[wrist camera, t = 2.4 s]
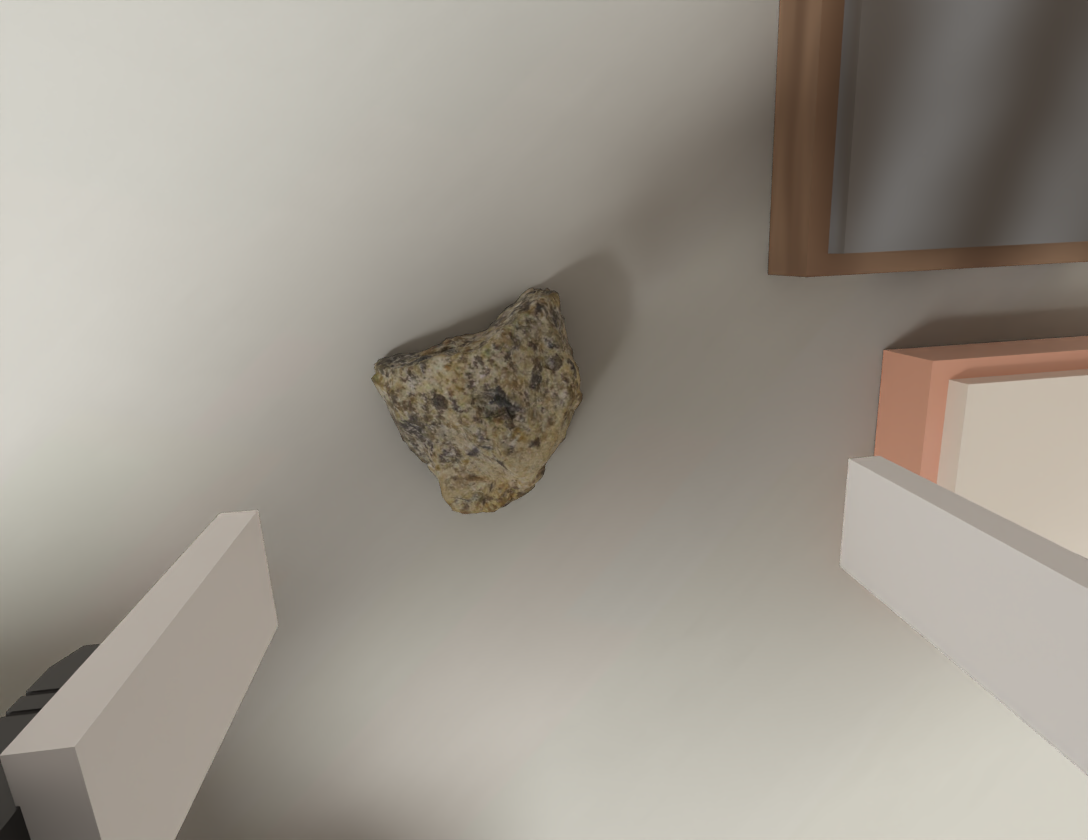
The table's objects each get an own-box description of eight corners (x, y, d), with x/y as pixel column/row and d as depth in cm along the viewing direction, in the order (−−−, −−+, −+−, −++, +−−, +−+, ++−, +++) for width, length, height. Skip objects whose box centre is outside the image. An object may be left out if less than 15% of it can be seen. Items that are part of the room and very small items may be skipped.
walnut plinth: (767, 274, 26) (820, 277, 23) (785, -128, 23) (852, -205, 19) (1070, 258, 28) (1167, 258, 24) (1130, -119, 25) (1256, -188, 21)
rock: (612, 435, 28) (641, 469, 23) (446, 512, 27) (444, 560, 23) (546, 279, 26) (565, 285, 21) (366, 362, 25) (348, 384, 21)
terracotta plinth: (862, 577, 31) (921, 622, 27) (883, 349, 28) (951, 365, 24) (1066, 553, 32) (1149, 594, 28) (1106, 334, 29) (1204, 346, 26)
